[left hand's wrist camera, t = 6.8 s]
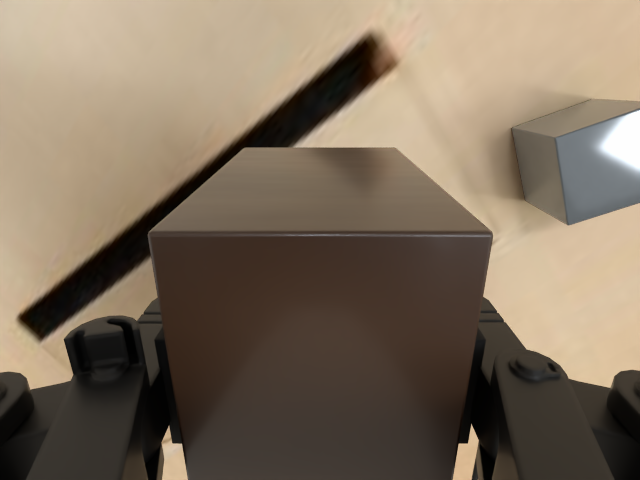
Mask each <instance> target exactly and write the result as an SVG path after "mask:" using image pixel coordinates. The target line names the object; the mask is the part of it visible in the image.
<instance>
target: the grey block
mask: <svg viewBox="0 0 640 480" xmlns="http://www.w3.org/2000/svg"><path fill="white" fill-rule="evenodd" d="M512 133H513V138H514V144H515V149H516V154H517V160H518V165H519V170H520V176H521V181H522V186H523V192H524V197H525V201H526V202H528V203H530V204H532V205H533V206H535V207H537V208H538V209H540V210H542V211H544V212H545V213H547V214H549V215H551V216H552V217H554V218H556V219H558V220H559V221H561V222H563V223H565V224H566V225H572V224H575V223H578V222H581V221H584V220H587V219H591V218H594V217H597V216H600V215H603V214H606V213H609V212H613V211H616V210H619V209H622V208H625V207H628V206H631V205H635V204H638V203H640V102H639V101H622V100H605V99H591V100H589V101H586V102H583V103H580V104H577V105H574V106H572V107H569V108H566V109H563V110H560V111H557V112H555V113H552V114H549V115H546V116H543V117H540V118H538V119H535V120H532V121H529V122H526V123H524V124H521V125H518V126H515V127H513V128H512Z"/></svg>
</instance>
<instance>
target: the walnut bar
mask: <svg viewBox="0 0 640 480" xmlns="http://www.w3.org/2000/svg"><path fill="white" fill-rule="evenodd" d="M492 239H493V234H492V231H490V230H489V229H488V228H487V227H486V226H485V225H484V224H482V223H481V222H480V221H479V220H478V219H477V218H476V217H474V216H473V215H472V214H471V213H470V212H469V211H468V210H466V209H465V208H464V207H463V206H462V205H461V204H459V203H458V202H457V201H456V200H455V199H454V198H453V197H451V196H450V195H449V194H448V193H447V192H446V191H445V190H443V189H442V188H441V187H440V186H439V185H438V184H437V183H435V182H434V181H433V180H432V179H431V178H430V177H429V176H427V175H426V174H425V173H424V172H423V171H422V170H421V169H419V168H418V167H417V166H416V165H415V164H414V163H412V162H411V161H410V160H409V159H408V158H407V157H406V156H404V155H403V154H402V153H401V152H400V151H399V150H398V149H396V148H244V149H243V150H241V151H240V152H239V153H238V154H237V155H236V156H235V157H233V158H232V159H231V160H230V161H229V162H228V163H227V164H225V165H224V166H223V167H222V168H221V169H220V170H219V171H218V172H216V173H215V174H214V175H213V176H212V177H211V178H210V179H208V180H207V181H206V182H205V183H204V184H203V185H202V186H200V187H199V188H198V189H197V190H196V191H195V192H194V193H192V194H191V195H190V196H189V197H188V198H187V199H186V200H185V201H183V202H182V203H181V204H180V205H179V206H178V207H177V208H175V209H174V210H173V211H172V212H171V213H170V214H169V215H167V216H166V217H165V218H164V219H163V220H162V221H161V222H160V223H158V224H157V225H156V226H155V227H154V228H153V229H152V230H150V231H149V233H148V240H149V246H150V252H151V258H152V264H153V270H154V277H155V283H156V289H157V295H158V301H159V307H160V313H161V319H162V325H163V331H164V337H165V343H166V349H167V355H168V361H169V367H170V373H171V379H172V385H173V391H174V398H175V404H176V410H177V416H178V422H179V428H180V434H181V440H182V446H183V452H184V458H185V464H186V470H187V476H188V480H453V474H454V468H455V462H456V456H457V450H458V444H459V438H460V432H461V426H462V420H463V414H464V408H465V402H466V396H467V389H468V383H469V377H470V371H471V365H472V359H473V353H474V347H475V341H476V335H477V329H478V323H479V317H480V311H481V305H482V299H483V293H484V287H485V281H486V275H487V269H488V263H489V257H490V251H491V245H492Z"/></svg>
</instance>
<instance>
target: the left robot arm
mask: <svg viewBox="0 0 640 480" xmlns="http://www.w3.org/2000/svg"><path fill="white" fill-rule="evenodd" d="M64 342H65V345H66V349H67V353H68V356H69V360H70V364H71V367H72V371H73V377H72V379H71V381H68V382H65V383H61V384H56V385H51V386H46V387H41V388H37V389H32V390H30V387H29V384H28V381H27V378H26V377H24V376H23V375H22V374H21V373H15V372H3V373H0V480H162V474H163V465H164V455H163V449H162V443H161V442H162V440H163V438H164V435H165V433H166V431H167V428H168V426H170V432H171V438H172V443H182V440H181V434H180V428H179V422H178V416H177V410H176V404H175V398H174V391H173V385H172V379H171V373H170V367H169V361H168V355H167V349H166V343H165V337H164V331H163V325H162V319H161V313H160V307H159V301H158V298H157V299H155V300H154V301H152V302H151V304H150V305H149V306H148V307H147V309H146V310H145V311H144V315H141V317H140V318H139V319H138V321H136V320H135V319H133V318H131V317H127V316H107V317H103V318H98V319H94V320H92V321H89V322H87V323H84V324H82V325H80V326H78V327H77V328H75V329H74V330H72V331H71V332H70V333H69V334H68V335H67V336H66V337H65V338H64ZM471 423H472V426H473V428H474V430H475V433H476V435H477V437H478V439H479V443H478V449H477V454H476V459H475V464H474V470H473V475H472V480H640V371H636V370H628V371H621V372H619V373H618V374H617V375H616V376H614V379H613V382H612V386H611V388H607V387H603V386H598V385H593V384H588V383H583V382H578V381H575V380H571V379H568V376H567V374H566V373H565V372H564V370H563V369H562V368H561V366H560V365H558V364H557V363H556V362H554V361H553V360H552V359H550V358H548V357H546V356H544V355H542V354H539V353H537V352H534V351H530V350H526V348H525V347H524V346H523V344H522V343H521V342H520V341H519V339H518V338H517V337H516V335H515V334H514V333H513V331H512V330H511V329H510V328H509V326H508V325H507V324H506V322H504V320H503V318H502V317H501V316H500V315H499V313H497V311H496V309H495V308H494V307H493V305H492V304H491V303H490V302H489V300H487V299H486V298H484V297H483V299H482V305H481V311H480V317H479V323H478V329H477V335H476V341H475V347H474V353H473V359H472V365H471V371H470V377H469V383H468V389H467V396H466V402H465V408H464V414H463V420H462V426H461V432H460V438H459V443H468V439H469V434H470V428H471Z"/></svg>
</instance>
